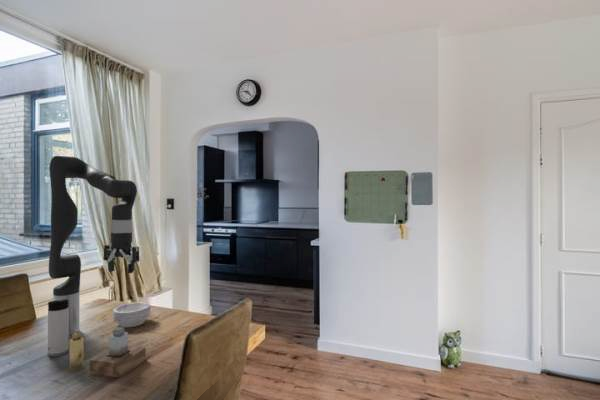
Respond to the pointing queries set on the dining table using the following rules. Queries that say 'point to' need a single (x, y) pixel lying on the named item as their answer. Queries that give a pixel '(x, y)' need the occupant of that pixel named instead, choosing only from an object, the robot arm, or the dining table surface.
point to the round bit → (76, 352)
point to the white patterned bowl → (131, 314)
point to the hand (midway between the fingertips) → (121, 272)
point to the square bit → (118, 343)
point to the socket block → (117, 362)
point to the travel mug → (58, 327)
